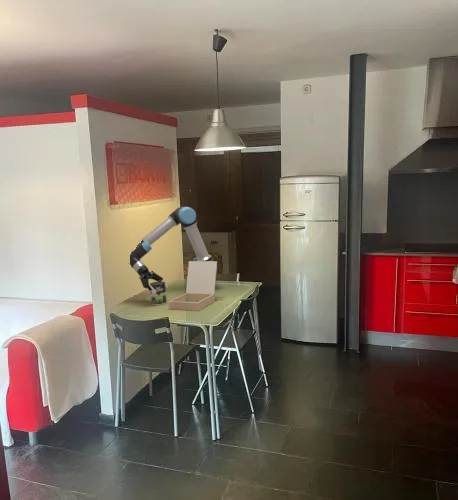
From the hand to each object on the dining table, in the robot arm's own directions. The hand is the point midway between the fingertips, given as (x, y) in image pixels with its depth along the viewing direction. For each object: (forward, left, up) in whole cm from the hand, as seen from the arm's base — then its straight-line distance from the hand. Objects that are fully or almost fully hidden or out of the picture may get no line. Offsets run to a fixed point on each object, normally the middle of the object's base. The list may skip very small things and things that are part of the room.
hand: (161, 290), depth 306 cm
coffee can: (0, -2, -9) cm, 9 cm away
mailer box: (-4, +24, -9) cm, 26 cm away
